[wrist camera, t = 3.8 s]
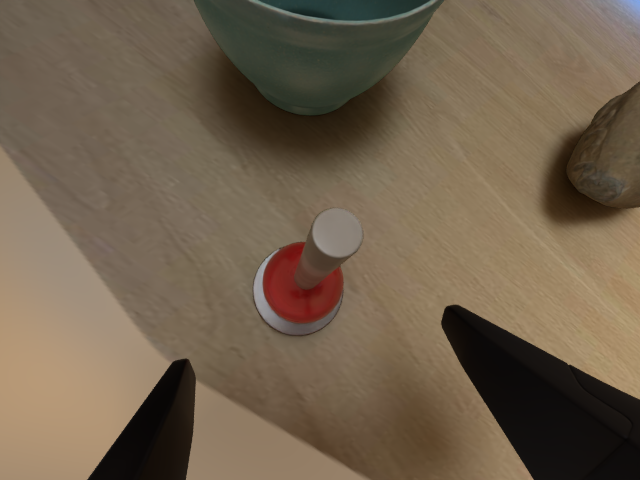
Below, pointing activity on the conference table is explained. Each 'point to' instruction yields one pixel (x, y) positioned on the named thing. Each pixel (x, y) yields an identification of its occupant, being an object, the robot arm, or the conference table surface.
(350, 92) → the flower pot
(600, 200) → the stone
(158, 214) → the conference table surface
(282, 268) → the red base lever
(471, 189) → the conference table surface
